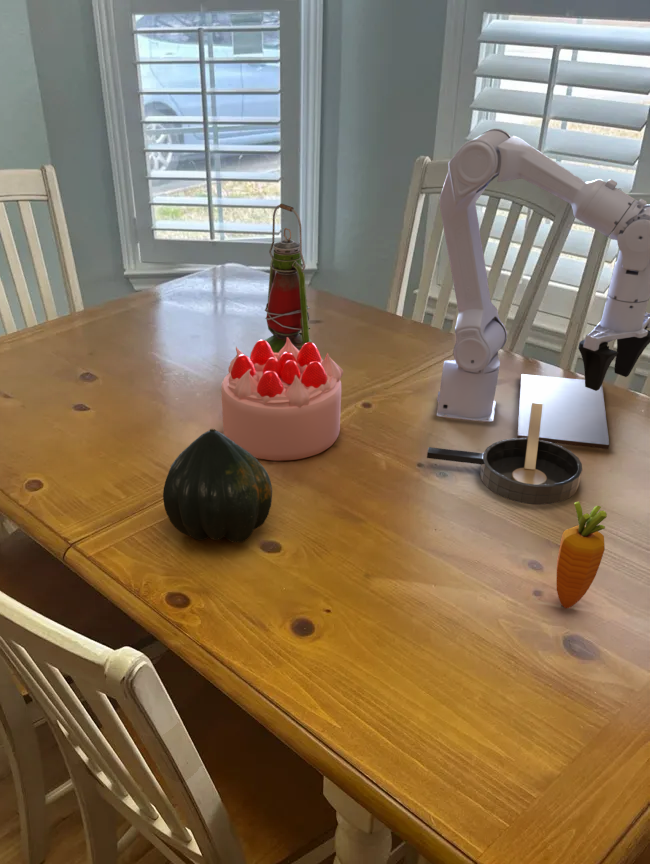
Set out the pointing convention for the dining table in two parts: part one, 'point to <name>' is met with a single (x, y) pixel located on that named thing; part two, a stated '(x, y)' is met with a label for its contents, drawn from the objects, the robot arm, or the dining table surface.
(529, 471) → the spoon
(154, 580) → the dining table surface
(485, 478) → the pan
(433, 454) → the pan handle
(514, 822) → the dining table surface
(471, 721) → the dining table surface
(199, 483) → the squash
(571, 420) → the board
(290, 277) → the lantern
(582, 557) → the carrot
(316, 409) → the cake
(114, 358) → the dining table surface
